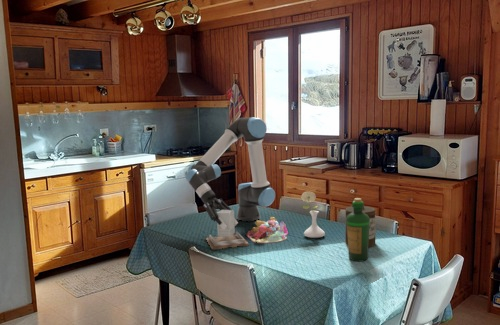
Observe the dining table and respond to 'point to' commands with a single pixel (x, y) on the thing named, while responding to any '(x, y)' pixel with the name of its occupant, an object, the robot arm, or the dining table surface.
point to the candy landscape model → (268, 232)
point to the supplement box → (228, 219)
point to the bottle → (358, 232)
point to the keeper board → (226, 241)
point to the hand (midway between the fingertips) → (230, 226)
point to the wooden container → (371, 215)
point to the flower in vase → (313, 229)
